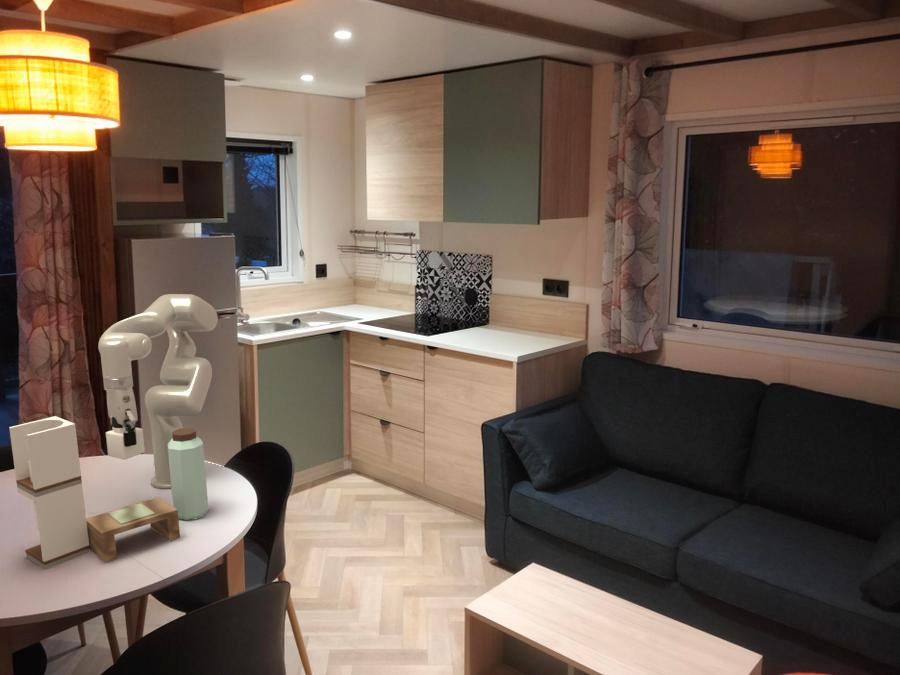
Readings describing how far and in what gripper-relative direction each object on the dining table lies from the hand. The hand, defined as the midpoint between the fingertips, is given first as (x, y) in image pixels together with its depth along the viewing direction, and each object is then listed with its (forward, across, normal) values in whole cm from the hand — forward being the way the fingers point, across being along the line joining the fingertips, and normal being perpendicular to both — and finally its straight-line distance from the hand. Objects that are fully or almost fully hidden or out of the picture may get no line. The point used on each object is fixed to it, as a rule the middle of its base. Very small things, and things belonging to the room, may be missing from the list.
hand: (124, 441), depth 226 cm
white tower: (+22, -11, +24) cm, 34 cm away
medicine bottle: (+4, 0, 0) cm, 4 cm away
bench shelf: (+22, -18, +6) cm, 29 cm away
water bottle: (+22, -12, -12) cm, 28 cm away
